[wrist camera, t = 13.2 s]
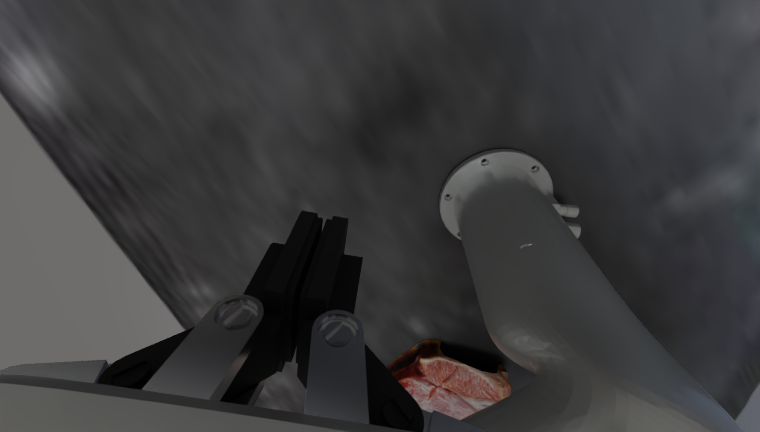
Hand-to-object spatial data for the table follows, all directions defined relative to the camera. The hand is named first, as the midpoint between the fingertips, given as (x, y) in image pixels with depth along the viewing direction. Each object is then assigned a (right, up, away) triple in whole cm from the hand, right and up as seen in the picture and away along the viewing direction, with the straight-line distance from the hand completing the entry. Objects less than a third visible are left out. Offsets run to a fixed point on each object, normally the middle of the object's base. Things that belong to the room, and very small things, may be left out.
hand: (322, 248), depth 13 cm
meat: (+13, -27, +49) cm, 57 cm away
